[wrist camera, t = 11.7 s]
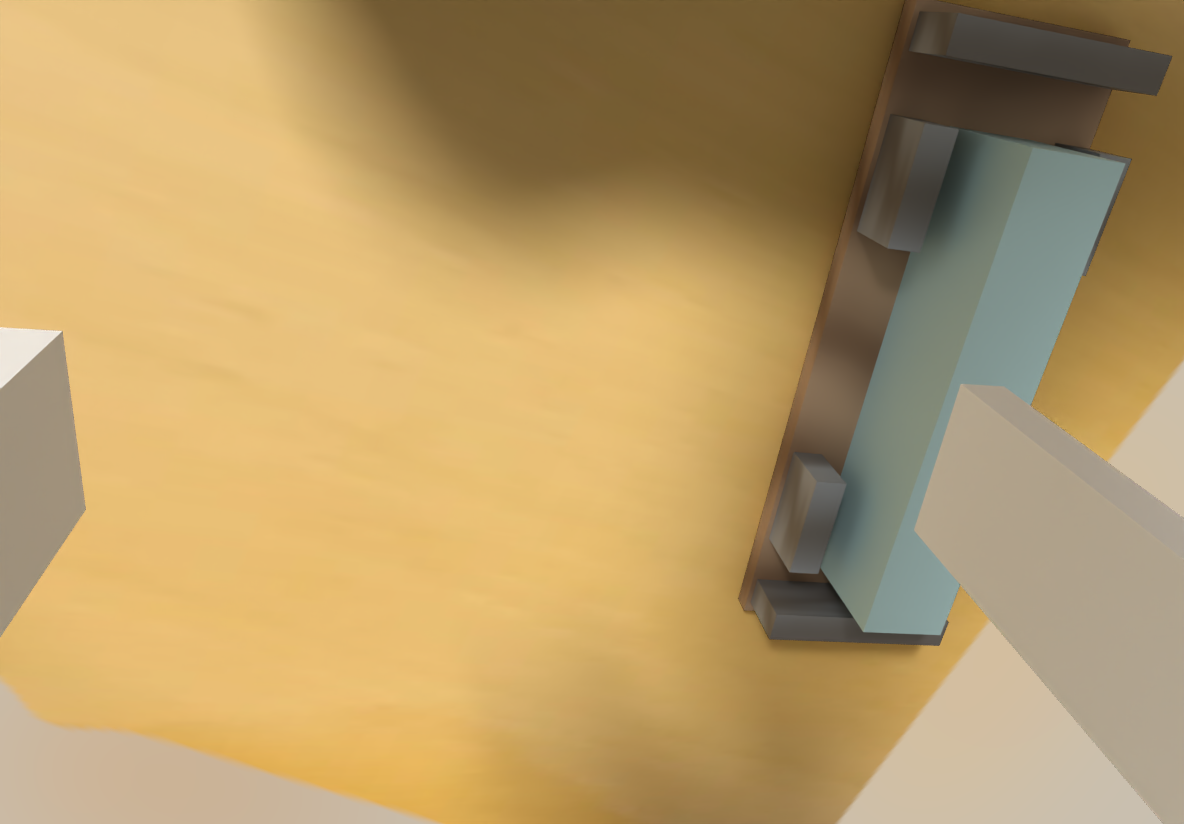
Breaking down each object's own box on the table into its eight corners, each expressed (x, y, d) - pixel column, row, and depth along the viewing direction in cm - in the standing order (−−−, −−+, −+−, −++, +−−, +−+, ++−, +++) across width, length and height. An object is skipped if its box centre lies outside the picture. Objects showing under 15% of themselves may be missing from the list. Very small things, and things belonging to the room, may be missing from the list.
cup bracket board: (906, -4, 37) (956, -4, 33) (1114, 39, 39) (1183, 43, 35) (738, 598, 49) (762, 647, 45) (905, 607, 51) (940, 653, 47)
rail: (949, 126, 38) (1032, 147, 33) (1031, 140, 39) (1125, 163, 34) (814, 559, 47) (863, 631, 42) (884, 563, 48) (940, 634, 42)
